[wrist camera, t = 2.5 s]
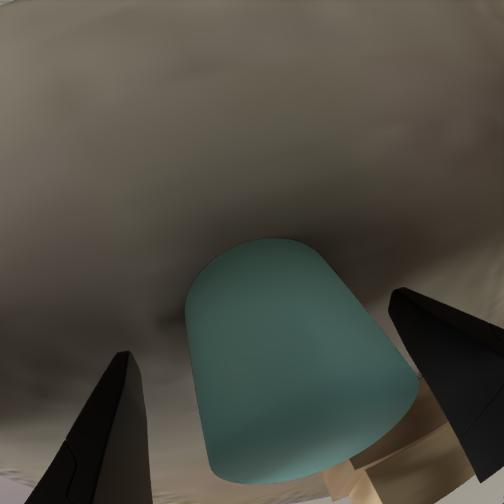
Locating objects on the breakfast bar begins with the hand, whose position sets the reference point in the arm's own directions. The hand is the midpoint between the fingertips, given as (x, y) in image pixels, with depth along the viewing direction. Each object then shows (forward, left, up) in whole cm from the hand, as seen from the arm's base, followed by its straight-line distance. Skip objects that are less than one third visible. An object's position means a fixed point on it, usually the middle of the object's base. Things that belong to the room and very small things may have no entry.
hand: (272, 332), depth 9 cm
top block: (+7, -13, +3) cm, 15 cm away
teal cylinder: (0, 0, -1) cm, 1 cm away
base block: (+7, -13, -1) cm, 15 cm away
